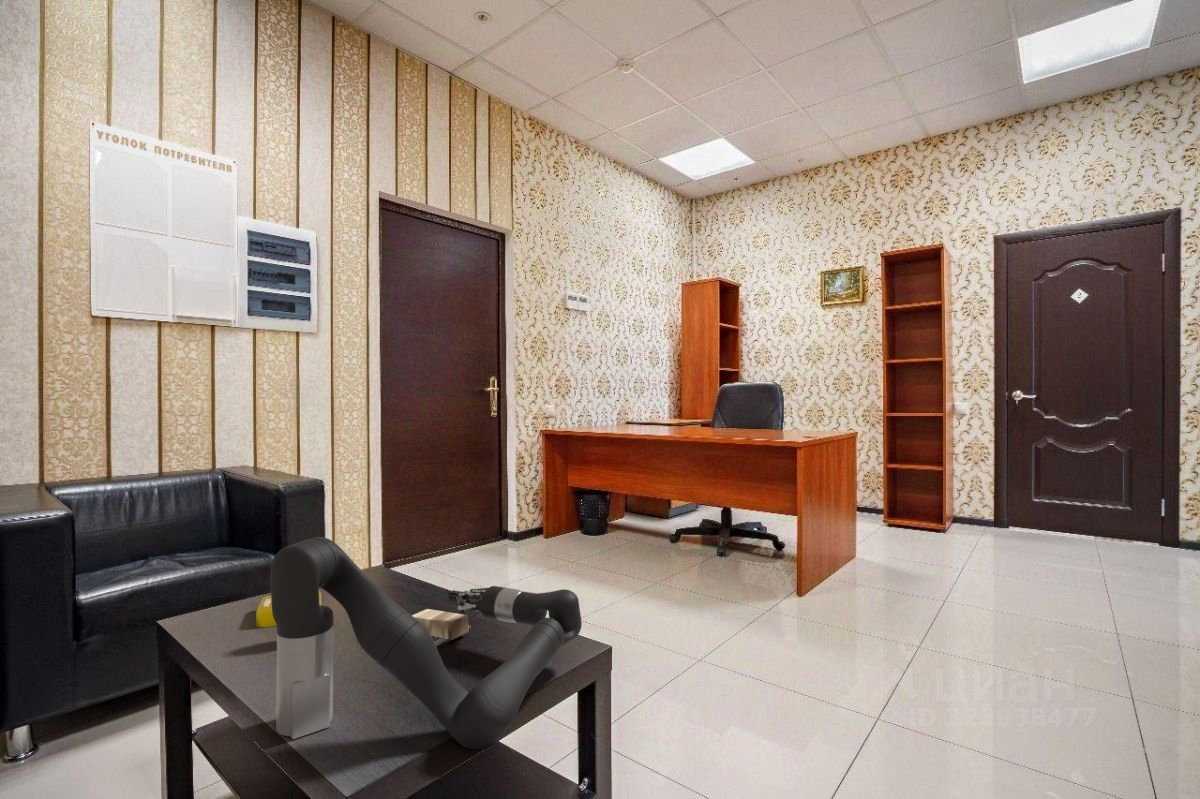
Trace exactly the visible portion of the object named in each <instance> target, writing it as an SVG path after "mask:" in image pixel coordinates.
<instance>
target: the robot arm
mask: <svg viewBox="0 0 1200 799" xmlns="http://www.w3.org/2000/svg"><path fill="white" fill-rule="evenodd" d="M319 589H322V590H323V591H325V592H326V593H328V594H329V595H330V596H331V597H332V598H334V599H335V600H336V601H337V602H338V603H339V604H340V605H341V606H342V607H343V608H344V610H345V612H346V614H347V616H348V619H349V621H350V624H351V628H352V630H353V633H354V636H355V638H356V640H357V642H358V644H359V646H360V647H361V649H362V650H363V651H364V652H365V653H366V654H367V655H368V656H369V657H370V658H371V659H373V660H374V661H375V662H376V663H377V664H378V665H380V666H381V668H383V669H384V670H385V671H387V672H388V673H389V674H390V675H391V676H393V678H395V679H396V681H398V682H399V683H400V684H402V686H403V687H404V688H406V690H407V691H408V692H410V694H411V695H413V696H414V697H415V698H416V699H417V700H419V702H420V703H422V704H423V706H425V708H426V709H427V710H428V711H429V712H430V713H431V715H433V716H434V718H435V719H436V720H437V721H438V722H439V723H440V724H441V725H442V726H443V727H444V728H445V730H446V731H447V733H448V734H450V735H451V737H452V738H453V739H454V740H456V742H457V743H458V744H460V745H461V746H462V747H463V748H465V749H470V750H481V749H486V748H487V749H488V748H490V747H491V746H494V745H495V744H497V743H498V742H499V741H500V740H501V738H502V737H503V736H504V735H505V733H506V732H507V731H508V730H509V729H510V727H511V726H512V725H513V723H514V721H515V718H516V716H517V714H518V712H519V709H520V707H521V704H522V703H523V701H524V698H525V697H526V695H527V692H528V690H529V689H530V687H531V685H532V684H533V682H534V680H535V679H536V678H537V676H538V675H539V674H540V673H541V672H542V671H543V670H544V669H545V667H547V665H548V664H549V663H550V662H551V661H552V659H553V658H554V656H555V655H556V653H558V651H559V649H560V648H561V647H563V646H565V645H566V644H567V643H569V642H570V641H572V640H574V639H575V638H576V637H579V636H578V635H579V634H580V632H581V631H582V626H583V625H582V615H581V609H580V602H579V597H578V596H577V595H578V594H576V593H575V592H574V591H572V590H570V589H566V588H565V589H558V590H553V591H547V592H540V593H539V592H538V593H536V592H529V591H523V590H520V589H518V588H517V589H516V588H511V587H504V586H498V585H492V586H489V587H482V588H481V587H480V588H471V589H469V590H463V591H461V590H460V591H459V590H450V591H448V592H447V600H448V601H449V602H453V603H455V608H456V610H457V611H458V614H465V612H466V610H471V611H474V612H480V613H481V614H482V616H483V617H484V618H485V619H489V620H493V621H499V622H505V623H510V624H511V623H513V624H514V623H517V624H522V625H528V626H532V628H531V629H530V630H529V631H527V633H526V635H525V636H524V637H523V639H522V640H521V641H520V642H519V644H518V645H517V646H516V648H515V650H514V651H513V652H512V654H511V655H510V656H509V657H508V658H507V659H506V660H505V661H504V662H502V664H500V665H499V666H498V667H497V668H496V669H494V670H493V671H492V672H491V673H489V674H488V675H487V676H485V677H483V679H480V681H479V682H478V683H476V684H475V685H473V686H472V687H471V689H470V690H469V691H468V690H467V689H466V688H465V687H464V686H463V685H462V684H461V683H459V682H458V681H457V680H456V678H454V677H453V676H452V675H451V673H450V672H449V671H448V669H447V668H446V666H445V663H444V662H443V660H442V657H441V655H440V653H439V650H438V647H436V645H435V643H434V641H433V639H432V637H431V635H430V634H429V632H428V631H427V629H426V628H425V627H424V626H423V625H422V624H421V623H420V622H419V621H418V620H416V619H415V618H414V617H413V616H412V615H413V614H411V613H410V612H409V611H407V610H406V609H405V608H404V607H402V606H401V605H400V604H398V603H397V602H396V601H395V600H394V599H393V598H391V596H389V595H388V594H387V593H386V592H385V591H384V590H383V589H382V588H381V587H379V586H378V585H377V584H376V583H375V582H374V581H372V579H371V578H369V577H368V576H367V575H366V574H365V573H364V572H363V571H362V570H361V569H360V568H359V566H358V565H357V564H356V563H355V562H354V561H353V559H351V557H350V556H349V555H348V554H347V553H346V551H344V550H343V549H342V548H341V547H340V546H339V545H338V544H337V543H336V542H335V541H333V540H331V539H329V538H327V537H324V536H315V537H312V538H308V539H304V540H301V541H299V542H295V543H293V544H289V545H287V546H285V547H283V548H282V549H280V550H279V551H278V552H277V553H276V554H275V556H274V558H273V560H272V563H271V569H270V595H271V601H272V614H273V618H274V620H275V622H276V625H277V626H276V683H275V685H276V689H275V690H276V696H275V697H276V699H275V700H276V701H275V702H276V703H275V705H276V706H275V707H276V708H275V710H276V712H275V715H276V716H275V717H276V718H275V720H276V721H275V723H276V724H275V726H276V727H275V730H276V732H277V733H278V734H279V735H281V736H283V735H284V736H283V737H289V736H290V738H291V740H295V739H298V738H301V737H303V736H307V735H310V734H313V733H315V732H319V731H322V730H324V729H327V728H328V729H329V728H330V727H331V722H332V720H333V716H334V713H333V712H334V708H333V705H334V701H333V700H334V621H335V620H334V612H333V609H332V608H331V607H330V606H327V605H322V604H321V605H320V604H319V591H320V590H319ZM547 612H548V613H547ZM547 615H548V617H547Z"/></svg>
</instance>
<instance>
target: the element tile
mask: <svg viewBox="0 0 1200 799" xmlns="http://www.w3.org/2000/svg"><path fill="white" fill-rule="evenodd" d="M319 604H320V605H322V591H321V590H319ZM255 618H256V619H255V624H256V625H255V627H256V628H259V629H262V628H272V627H277V625H276V622H275V620H274V618H273V614H272V601H271V594H270V595H266V596H264V597H262V599H261V600H260V603H259V605H258V607H257V610H256V616H255Z"/></svg>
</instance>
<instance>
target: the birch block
mask: <svg viewBox="0 0 1200 799" xmlns="http://www.w3.org/2000/svg"><path fill="white" fill-rule="evenodd" d="M411 615H412V616H413V617H414V618H415V619H416V620H418V621H419V622H420V623H421V624H422V625H423V626H424V627H425V628H426V629H427V631H428V632H429V634H430V635H431V636H434V637H439V638H444V639H450V641H453V640H455V639H458V638H459V637H461V636H462V635H465V634H466V633H469V626H470V624H469V615H468V614H464V613H457V612H456V613H455V612H449V611H443V610H437V609H431V608H426V609H424V610H421V611H419V612H417V613H415V614H411Z"/></svg>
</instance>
